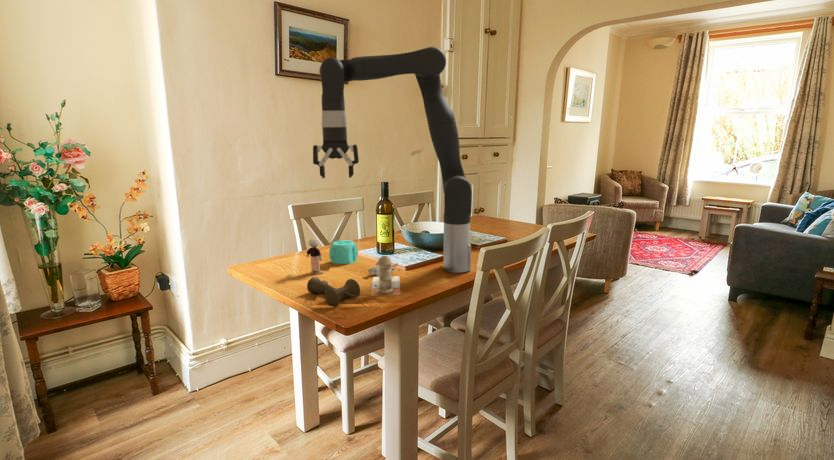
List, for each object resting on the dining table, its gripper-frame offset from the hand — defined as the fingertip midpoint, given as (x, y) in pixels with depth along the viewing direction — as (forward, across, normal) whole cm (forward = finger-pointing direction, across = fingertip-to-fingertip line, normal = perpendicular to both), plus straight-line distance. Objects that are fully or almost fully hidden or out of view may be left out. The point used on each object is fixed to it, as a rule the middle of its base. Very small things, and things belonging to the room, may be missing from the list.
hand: (336, 177), depth 144 cm
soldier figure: (+34, -14, -2) cm, 37 cm away
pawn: (+33, -15, +17) cm, 40 cm away
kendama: (+35, 0, +19) cm, 39 cm away
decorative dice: (+34, +1, -18) cm, 39 cm away
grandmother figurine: (+34, +10, -7) cm, 36 cm away
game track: (+34, -15, +11) cm, 39 cm away
